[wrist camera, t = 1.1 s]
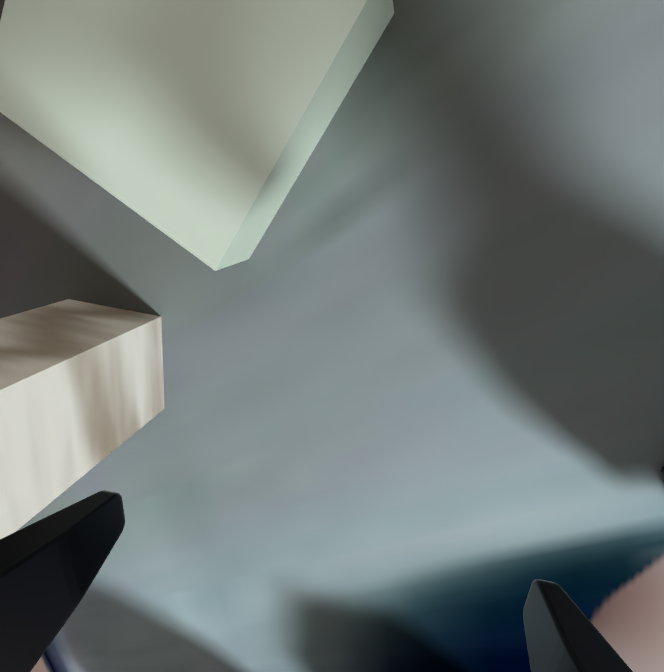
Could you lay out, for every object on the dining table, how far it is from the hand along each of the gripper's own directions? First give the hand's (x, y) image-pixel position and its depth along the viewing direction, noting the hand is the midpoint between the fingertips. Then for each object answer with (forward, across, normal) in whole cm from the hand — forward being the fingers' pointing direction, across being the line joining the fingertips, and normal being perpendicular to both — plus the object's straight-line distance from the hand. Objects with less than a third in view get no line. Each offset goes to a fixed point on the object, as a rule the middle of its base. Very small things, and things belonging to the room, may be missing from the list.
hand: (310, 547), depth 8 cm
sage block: (+14, +9, -12) cm, 20 cm away
